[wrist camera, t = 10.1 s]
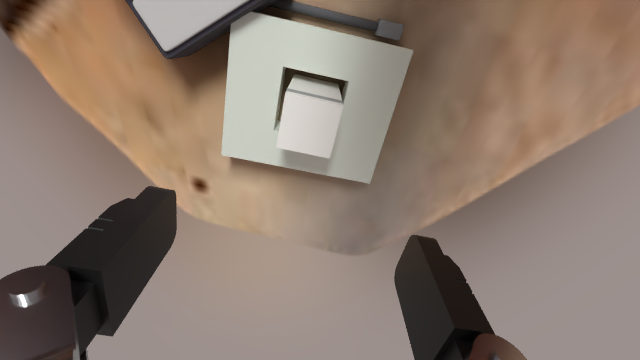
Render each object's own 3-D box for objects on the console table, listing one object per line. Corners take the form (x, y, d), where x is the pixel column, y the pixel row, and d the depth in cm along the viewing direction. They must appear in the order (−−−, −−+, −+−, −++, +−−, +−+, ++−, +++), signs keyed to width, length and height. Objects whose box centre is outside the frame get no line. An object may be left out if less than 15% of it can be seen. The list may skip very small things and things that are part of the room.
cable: (251, -13, 25) (249, -14, 24) (401, 24, 26) (404, 24, 25) (249, 4, 25) (247, 4, 24) (396, 40, 26) (399, 40, 25)
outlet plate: (241, 8, 25) (232, 7, 23) (404, 47, 26) (413, 50, 24) (230, 143, 31) (221, 155, 28) (365, 170, 32) (369, 183, 29)
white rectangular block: (294, 73, 28) (285, 92, 20) (338, 83, 28) (344, 105, 21) (286, 116, 29) (275, 147, 22) (327, 125, 30) (330, 158, 23)
